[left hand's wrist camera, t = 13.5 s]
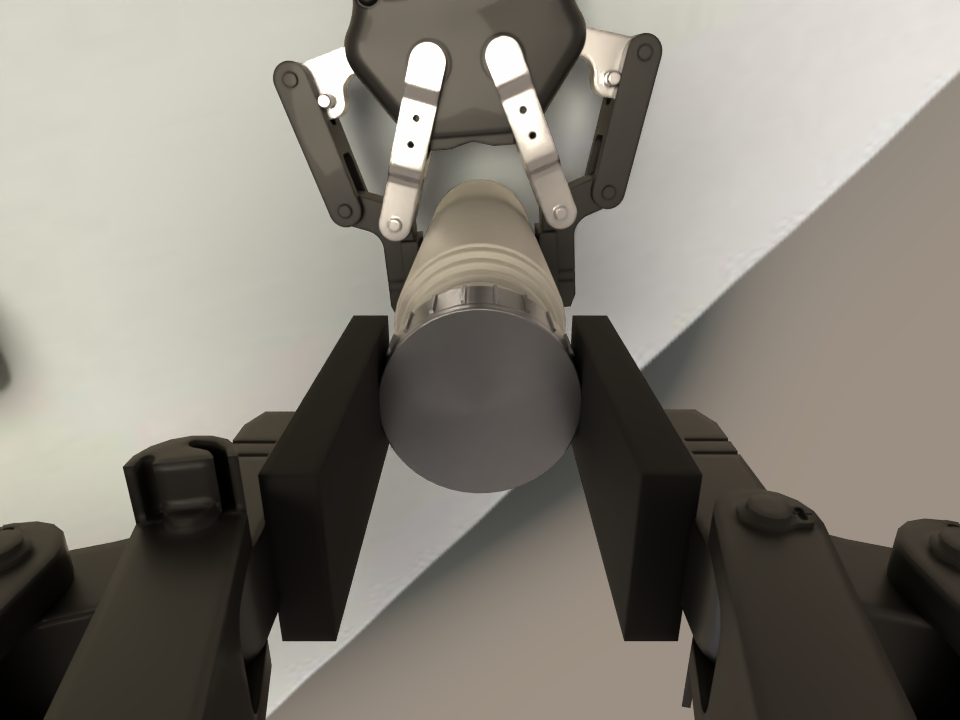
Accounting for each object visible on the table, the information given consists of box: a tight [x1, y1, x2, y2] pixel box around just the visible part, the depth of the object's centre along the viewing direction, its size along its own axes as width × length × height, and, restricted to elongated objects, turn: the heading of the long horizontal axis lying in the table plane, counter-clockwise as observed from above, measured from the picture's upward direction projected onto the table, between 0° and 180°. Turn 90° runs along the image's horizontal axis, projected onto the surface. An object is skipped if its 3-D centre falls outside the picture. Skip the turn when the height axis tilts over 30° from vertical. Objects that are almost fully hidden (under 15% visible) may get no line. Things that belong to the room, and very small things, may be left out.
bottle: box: [394, 180, 566, 335], centre depth 22 cm, size 5×5×20 cm
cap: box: [379, 285, 582, 493], centre depth 14 cm, size 4×4×2 cm
